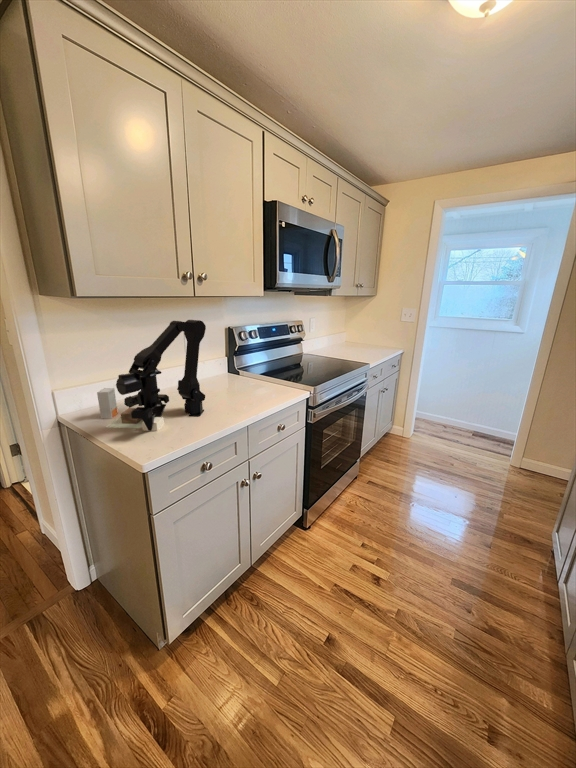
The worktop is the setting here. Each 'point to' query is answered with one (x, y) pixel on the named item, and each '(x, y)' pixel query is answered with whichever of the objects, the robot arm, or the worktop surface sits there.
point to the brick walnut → (129, 417)
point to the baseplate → (124, 424)
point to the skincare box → (107, 403)
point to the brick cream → (155, 424)
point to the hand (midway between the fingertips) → (153, 427)
